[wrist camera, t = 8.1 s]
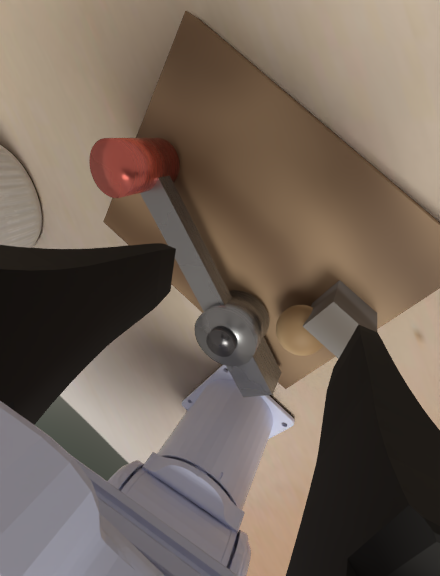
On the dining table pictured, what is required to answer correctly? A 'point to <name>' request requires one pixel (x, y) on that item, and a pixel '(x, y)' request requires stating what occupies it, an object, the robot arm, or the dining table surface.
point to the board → (281, 205)
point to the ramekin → (17, 204)
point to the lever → (191, 259)
